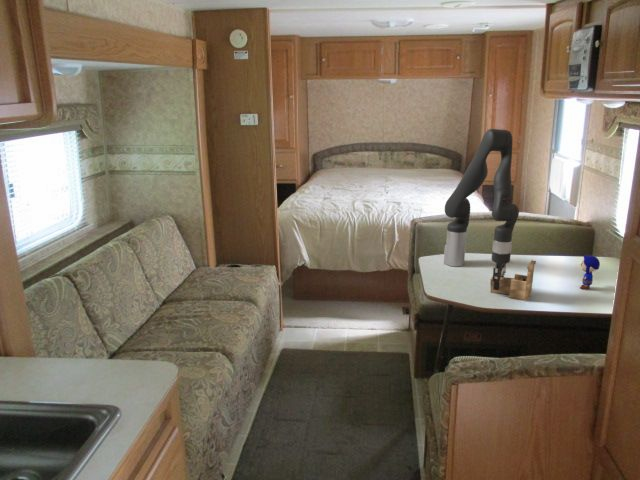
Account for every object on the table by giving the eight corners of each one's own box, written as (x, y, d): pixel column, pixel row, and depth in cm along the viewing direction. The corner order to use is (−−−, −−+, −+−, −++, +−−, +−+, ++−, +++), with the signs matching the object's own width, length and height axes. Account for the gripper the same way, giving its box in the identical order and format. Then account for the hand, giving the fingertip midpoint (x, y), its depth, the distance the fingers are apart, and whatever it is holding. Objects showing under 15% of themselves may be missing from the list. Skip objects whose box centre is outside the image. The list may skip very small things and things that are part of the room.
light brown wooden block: (490, 292, 235) (490, 277, 233) (492, 289, 238) (492, 274, 236) (521, 295, 228) (521, 280, 227) (523, 292, 232) (523, 277, 230)
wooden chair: (507, 297, 229) (511, 264, 224) (512, 290, 236) (515, 257, 232) (527, 301, 225) (531, 267, 221) (532, 294, 232) (535, 260, 228)
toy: (580, 282, 246) (585, 250, 241) (599, 286, 241) (603, 253, 237) (573, 290, 236) (578, 258, 231) (592, 294, 231) (597, 261, 227)
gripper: (496, 244, 237) (493, 280, 242) (488, 253, 226) (485, 290, 230) (514, 247, 234) (510, 283, 239) (507, 256, 222) (503, 294, 227)
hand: (498, 286), depth 234 cm, fingers open, 7 cm apart
